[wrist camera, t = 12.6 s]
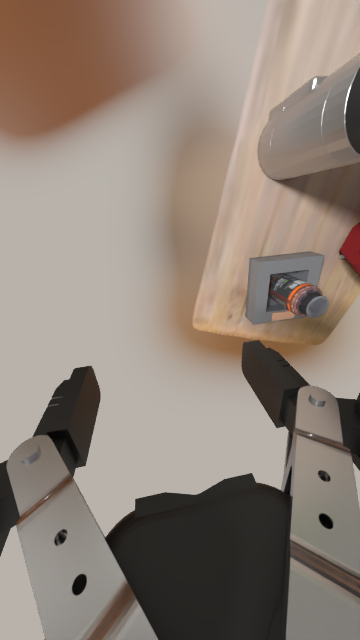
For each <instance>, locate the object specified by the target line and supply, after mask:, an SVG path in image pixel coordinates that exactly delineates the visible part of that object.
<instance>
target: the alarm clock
mask: <svg viewBox="0 0 360 640" xmlns="http://www.w3.org/2000/svg"><path fill="white" fill-rule="evenodd" d="M340 251H341V253H342V254H341V255H339V258H340V259H341V258H346V260H347V261H348V263H349V264H350V266H351V267H352V268H353V270H354V271H355V272H356V273H357V274H358V275H359V276H360V223H359V224H358V225H356V226H355V227H353V228H352V230H351V232H350V233H349V235H348V237H347V239H346V240H345V242H344V244H343V246H342V248H341V249H340Z"/></svg>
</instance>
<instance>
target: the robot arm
mask: <svg viewBox="0 0 360 640" xmlns="http://www.w3.org/2000/svg"><path fill="white" fill-rule="evenodd" d="M258 159H259V163H260V166H261V168H262V170H263V172H264V173H265V174H266V175H267V176H268V177H270V178H272V179H274V180H284V179H291V178H294V177H299V176H303V175H308V174H312V173H316V172H321V171H325V170H330V169H334V168H339V167H343V166H348V165H352V164H357V163H360V54H358V55H357V56H355V57H354V58H353V59H351V60H350V61H349V62H347V63H346V64H345V65H343V66H342V67H340V68H339V69H338V70H336V71H335V72H334V73H332V74H331V75H329V76H316V77H313V78H312V79H310V80H309V81H308V82H307V83H305V84H304V85H303V86H302V87H300V88H299V89H298V90H296V91H295V92H294V93H293V94H291V95H290V96H289V97H288V98H286V99H285V100H284V101H282V102H281V103H280V104H279V105H277V106H276V107H275V108H274V109H272V110H271V111H270V117H269V121H268V123H267V124H266V126H265V128H264V129H263V132H262V134H261V136H260V140H259V145H258ZM242 371H243V374H244V376H245V378H246V380H247V381H248V383H249V384H250V386H251V388H252V389H253V391H254V392H255V394H256V396H257V397H258V399H259V400H260V402H261V404H262V405H263V407H264V408H265V410H266V412H267V413H268V415H269V417H270V418H271V420H272V421H273V423H274V424H275V426H276V428H279V427H284V426H286V428H287V429H288V431H289V432H288V438H287V448H286V457H285V467H284V475H283V482H282V487H281V490H279V489H277V488H275V487H272V486H269V485H266V484H262V483H256V481H255V479H254V477H253V475H252V473H250V474H246V475H242V476H237V477H233V478H228V479H224V480H223V481H221V482H219V483H217V484H216V485H214V486H212V487H210V488H209V489H207V490H205V491H204V492H202V493H200V494H198V495H190V494H178V493H166V492H165V493H161V494H157V495H152V496H147V497H143V498H138V499H135V510H134V511H133V512H131V513H129V514H128V515H127V516H125V517H124V518H123V519H122V520H121V521H119V522H118V523H117V524H116V525H115V527H114V528H113V529H112V530H111V531H110V532H109V534H108V535H107V536H106V538H105V536H104V534H103V532H102V531H101V529H100V527H99V525H98V523H97V522H96V520H95V518H94V516H93V514H92V512H91V510H90V509H89V507H88V505H87V503H86V501H85V499H84V497H83V496H82V494H81V492H80V490H79V488H78V486H77V484H76V483H75V481H74V479H73V476H74V472H75V469H76V468H78V467H82V466H85V465H86V461H87V457H88V452H89V448H90V443H91V439H92V434H93V430H94V425H95V421H96V416H97V412H98V408H99V403H100V388H99V385H98V382H97V380H96V376H95V373H94V370H93V368H92V366H86V367H80V368H75V369H74V370H73V373H72V375H71V377H70V379H69V380H64V381H63V382H62V383H61V384H60V385H59V386H58V387H57V389H56V390H55V392H54V394H53V396H52V400H50V402H49V404H48V407H47V409H46V411H45V412H44V415H43V417H42V419H41V421H40V423H39V425H38V427H37V429H36V431H35V433H34V435H33V437H32V438H30V439H28V440H26V441H24V442H23V443H22V444H21V445H19V446H18V447H17V448H16V449H15V450H14V451H13V453H12V454H11V456H10V457H9V459H8V460H7V461H5V462H3V463H0V556H1V553H2V550H3V547H4V545H5V542H6V539H7V537H8V534H9V531H10V529H11V528H12V527H13V526H15V525H17V530H18V535H19V539H20V542H21V546H22V550H23V554H24V558H25V562H26V566H27V570H28V574H29V577H30V581H31V585H32V589H33V592H34V597H35V600H36V604H37V608H38V612H39V616H40V619H41V623H42V627H43V631H44V635H45V640H360V508H359V502H358V495H357V489H356V482H355V476H354V468H353V463H354V464H355V465H356V466H357V468H358V469H359V470H360V393H359V396H358V398H357V400H355V399H343V398H335V397H334V396H333V395H332V394H331V393H330V392H328V391H326V390H324V389H322V388H319V387H315V386H310V385H309V384H308V383H307V382H306V381H305V380H304V378H303V377H301V375H300V374H299V373H298V372H297V371H296V370H295V369H294V368H293V367H292V366H290V364H289V363H288V362H287V361H285V359H284V358H283V357H282V356H281V355H280V354H279V353H278V352H276V351H274V350H273V349H271V348H265V346H264V345H263V344H262V343H261V342H260V341H259V340H256V341H249V342H244V343H243V352H242ZM352 461H353V462H352Z"/></svg>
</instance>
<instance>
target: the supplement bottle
mask: <svg viewBox="0 0 360 640" xmlns="http://www.w3.org/2000/svg"><path fill="white" fill-rule="evenodd" d="M268 296H269V297H270V298H271V299H272V300H273V301H275V302H276V303H278V304H279V305H281V306H282V307H284V308H285V309H287V310H288V311H290V312H292V313H293V314H295V315H297V316H308V317H311V318H316V317H319V316H321V315H322V314H323V313H324V312H325V311H326V309H327V307H328V299H327V298H326V297H324V296H322V293H321V291H320V289H319V288H318V287H316V286H314V285H312V284H309V283H307V282H304V281H302V280H300V279H297V278H295V277H293V276H290V275H287V274H280V275H278V276H276V277H274V278H273V279H272V280H271V282H270V283H269V291H268Z"/></svg>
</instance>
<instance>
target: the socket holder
mask: <svg viewBox="0 0 360 640" xmlns="http://www.w3.org/2000/svg"><path fill="white" fill-rule="evenodd" d="M323 259H324V255H322V254H318V253H313V252H302V253H293V254H284V255H275V256H266V257H257V258H250V262H249V276H248V289H247V302H246V317H247V318H248V319H249V320H250V321H251V323H252V324H260V323H267V322H274V321H281V320H288V319H295V318H302V317H308V316H297V315H295V314H293V313H292V312H290V311H288V310H287V309H285V308H284V307H282V306H281V305H279V304H278V303H276V302H275V301H273V300H272V299H271V298H270V297H269V296H268V291H269V283H270V282H271V280H272V279H273V278H274V277H276V276H278V275H280V274H287V275H290V276H293V277H295V278H297V279H300V280H302V281H304V282H307V283H309V284H312V285H314V286H316V287H317V285H318V280H319V276H320V272H321V267H322V263H323Z"/></svg>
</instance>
